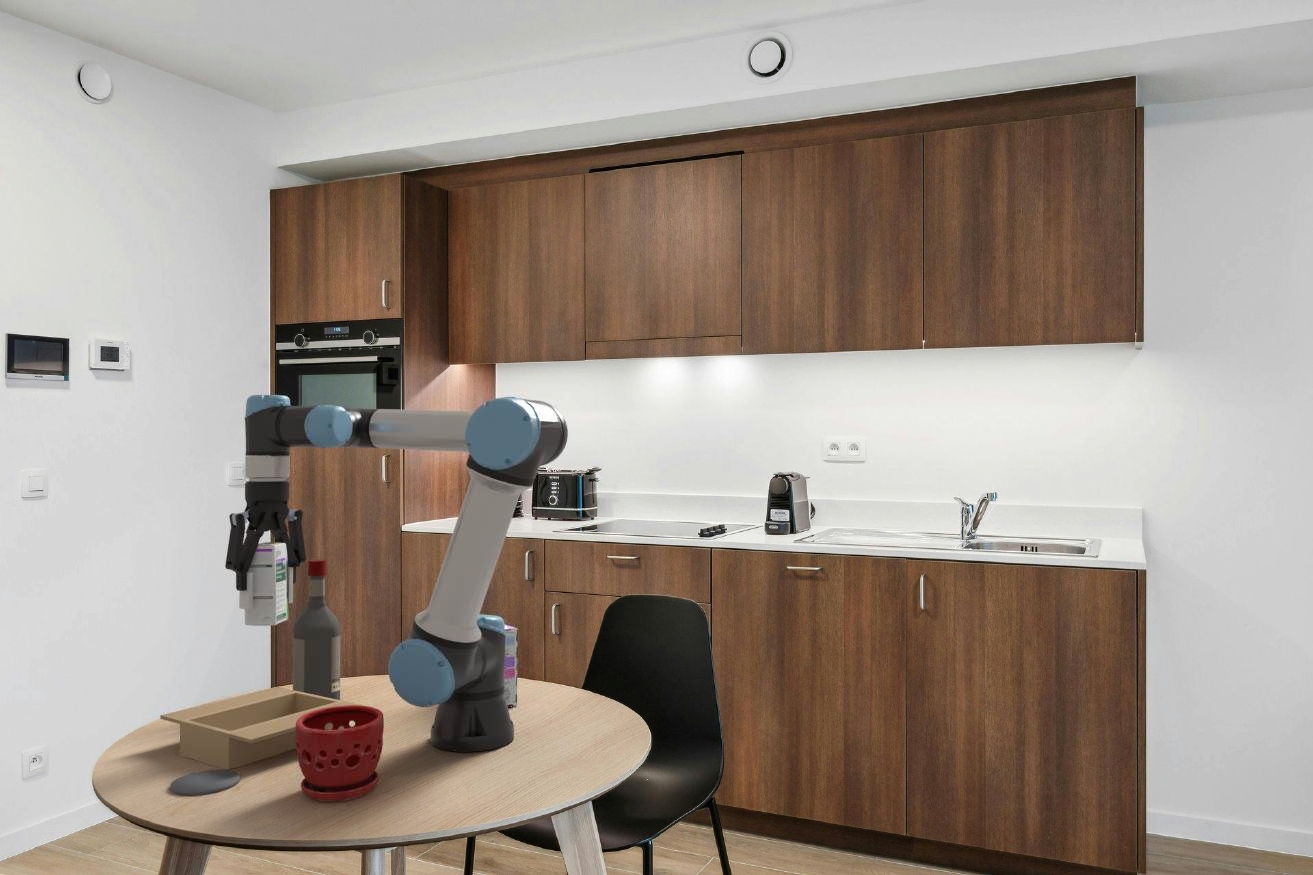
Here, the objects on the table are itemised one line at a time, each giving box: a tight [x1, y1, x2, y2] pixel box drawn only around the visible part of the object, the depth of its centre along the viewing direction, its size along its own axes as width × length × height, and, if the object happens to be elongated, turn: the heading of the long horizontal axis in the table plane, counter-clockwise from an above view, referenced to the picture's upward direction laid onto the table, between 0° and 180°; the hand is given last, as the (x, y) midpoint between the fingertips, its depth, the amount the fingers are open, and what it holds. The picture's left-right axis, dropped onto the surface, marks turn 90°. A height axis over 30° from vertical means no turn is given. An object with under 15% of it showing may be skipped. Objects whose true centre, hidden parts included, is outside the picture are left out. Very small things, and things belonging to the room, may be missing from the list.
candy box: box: [505, 624, 519, 708], centre depth 201 cm, size 14×6×16 cm, turn 34°
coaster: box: [170, 769, 241, 796], centre depth 151 cm, size 10×10×1 cm
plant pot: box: [296, 704, 385, 803], centre depth 148 cm, size 13×13×12 cm
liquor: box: [292, 558, 342, 700], centre depth 199 cm, size 9×9×30 cm
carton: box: [159, 686, 366, 770], centre depth 172 cm, size 26×24×6 cm
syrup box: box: [244, 541, 289, 627], centre depth 172 cm, size 6×6×14 cm
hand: (266, 605), depth 172 cm, fingers closed on syrup box, 8 cm apart
